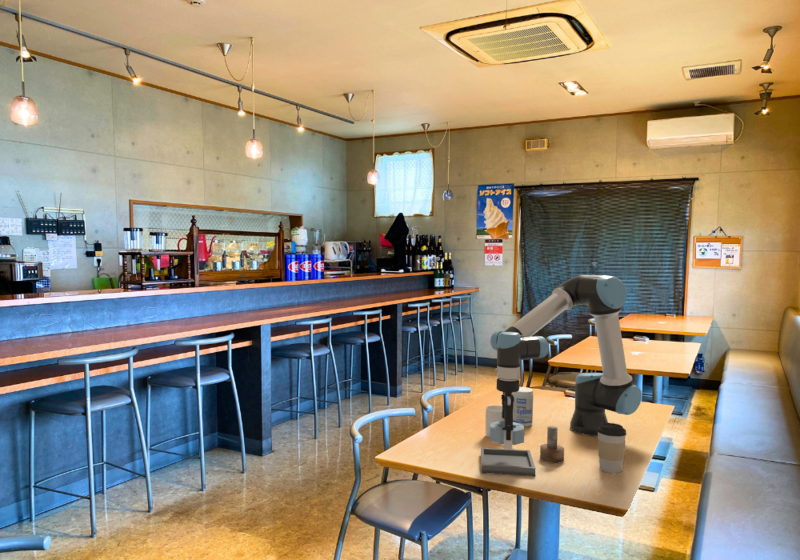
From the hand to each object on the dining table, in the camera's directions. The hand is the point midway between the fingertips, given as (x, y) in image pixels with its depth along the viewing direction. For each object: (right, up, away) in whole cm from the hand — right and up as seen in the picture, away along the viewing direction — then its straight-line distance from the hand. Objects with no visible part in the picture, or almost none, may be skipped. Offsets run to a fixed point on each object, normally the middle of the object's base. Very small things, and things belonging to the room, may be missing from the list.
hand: (506, 443), depth 188 cm
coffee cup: (+34, -8, -3) cm, 35 cm away
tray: (0, -7, 0) cm, 7 cm away
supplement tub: (+15, -6, +47) cm, 49 cm away
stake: (+17, -7, +6) cm, 19 cm away
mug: (+3, -6, +31) cm, 32 cm away
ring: (0, +1, 0) cm, 1 cm away
